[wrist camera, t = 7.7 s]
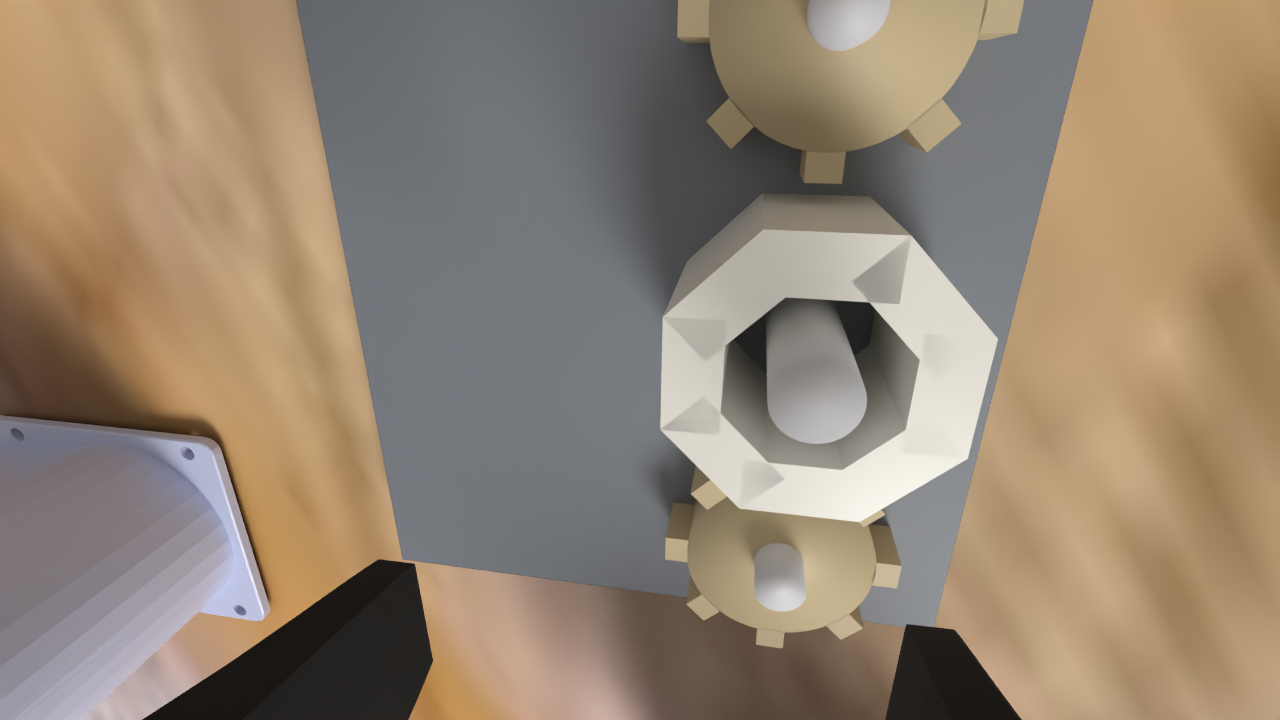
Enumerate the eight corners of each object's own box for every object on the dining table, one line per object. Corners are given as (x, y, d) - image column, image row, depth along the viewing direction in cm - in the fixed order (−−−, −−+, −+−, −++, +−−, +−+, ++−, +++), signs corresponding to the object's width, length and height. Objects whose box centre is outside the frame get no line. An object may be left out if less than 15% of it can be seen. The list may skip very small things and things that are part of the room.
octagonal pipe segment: (682, 407, 16) (658, 499, 12) (690, 190, 14) (664, 225, 10) (903, 426, 15) (948, 532, 11) (948, 198, 13) (1023, 240, 9)
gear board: (425, 529, 21) (309, 680, 16) (317, -114, 14) (37, -245, 9) (920, 591, 19) (985, 797, 13) (1097, -159, 11) (1403, -387, 6)
